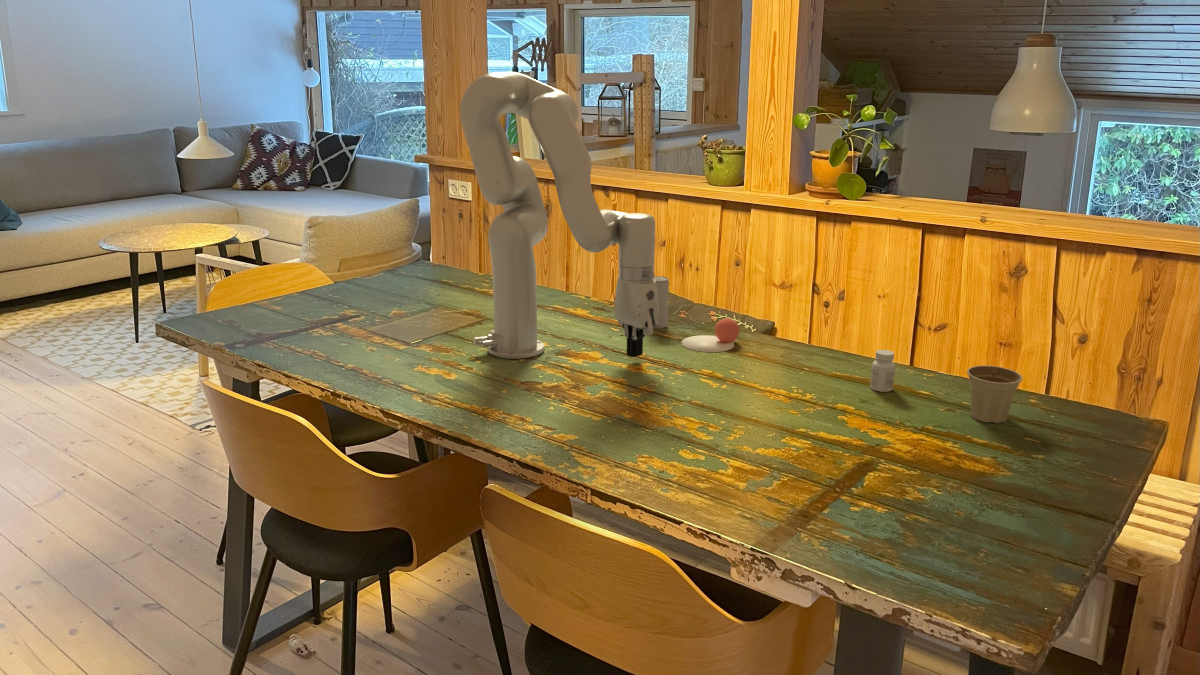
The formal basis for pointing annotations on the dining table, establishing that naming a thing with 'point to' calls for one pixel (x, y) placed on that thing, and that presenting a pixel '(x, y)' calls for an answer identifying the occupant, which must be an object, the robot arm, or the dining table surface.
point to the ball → (727, 330)
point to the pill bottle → (883, 371)
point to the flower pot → (992, 392)
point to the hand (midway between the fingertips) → (634, 355)
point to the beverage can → (662, 300)
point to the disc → (706, 344)
